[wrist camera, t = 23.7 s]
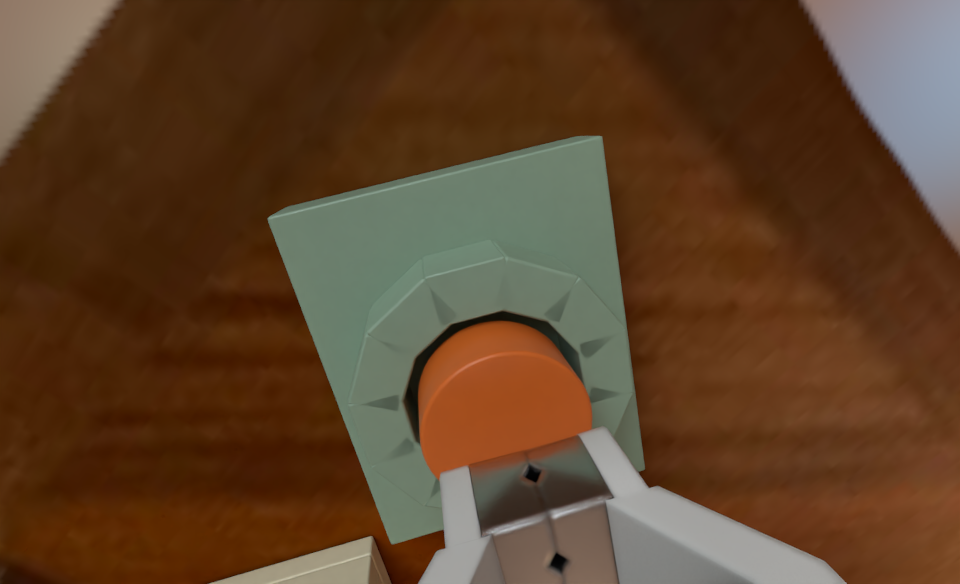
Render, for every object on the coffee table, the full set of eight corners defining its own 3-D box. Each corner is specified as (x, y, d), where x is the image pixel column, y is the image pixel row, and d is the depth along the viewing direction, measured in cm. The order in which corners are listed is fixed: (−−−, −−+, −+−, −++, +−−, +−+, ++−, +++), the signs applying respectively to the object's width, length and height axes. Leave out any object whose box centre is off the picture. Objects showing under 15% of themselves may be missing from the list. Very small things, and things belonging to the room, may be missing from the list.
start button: (399, 342, 10) (398, 380, 9) (553, 301, 11) (580, 330, 9) (439, 470, 12) (444, 525, 10) (577, 430, 12) (605, 478, 10)
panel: (284, 207, 12) (239, 232, 9) (578, 135, 13) (638, 134, 9) (392, 504, 15) (388, 602, 12) (622, 437, 16) (678, 514, 13)
